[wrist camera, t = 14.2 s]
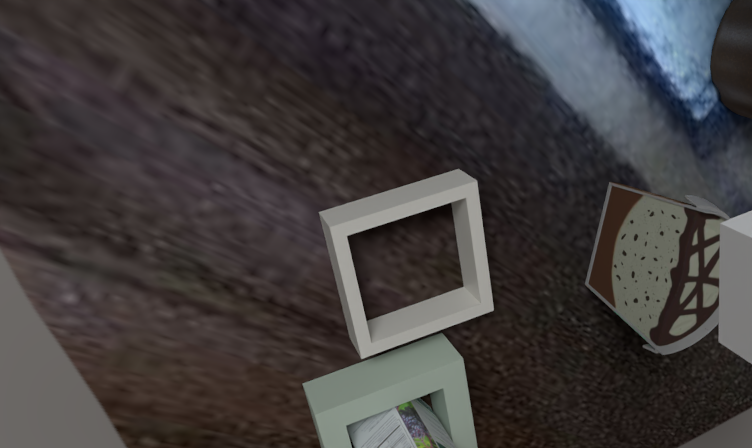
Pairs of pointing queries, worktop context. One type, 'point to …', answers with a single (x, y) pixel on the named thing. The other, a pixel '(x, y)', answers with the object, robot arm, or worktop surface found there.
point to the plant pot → (734, 58)
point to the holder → (429, 312)
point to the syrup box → (401, 428)
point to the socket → (394, 391)
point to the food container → (658, 265)
